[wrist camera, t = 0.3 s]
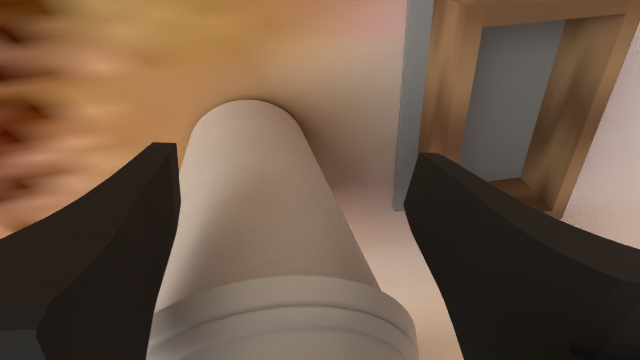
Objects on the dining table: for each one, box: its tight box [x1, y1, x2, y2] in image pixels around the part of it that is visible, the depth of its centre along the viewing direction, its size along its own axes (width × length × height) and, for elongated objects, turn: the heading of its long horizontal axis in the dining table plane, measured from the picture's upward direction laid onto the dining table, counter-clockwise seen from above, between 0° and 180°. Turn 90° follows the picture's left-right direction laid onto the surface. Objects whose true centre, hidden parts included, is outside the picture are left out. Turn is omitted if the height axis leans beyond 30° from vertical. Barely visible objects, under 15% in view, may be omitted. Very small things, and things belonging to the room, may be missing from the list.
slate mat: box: [393, 0, 566, 211], centre depth 23 cm, size 14×10×1 cm
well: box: [417, 0, 640, 219], centre depth 21 cm, size 13×8×4 cm, turn 3°
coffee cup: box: [146, 100, 418, 360], centre depth 17 cm, size 10×10×15 cm
